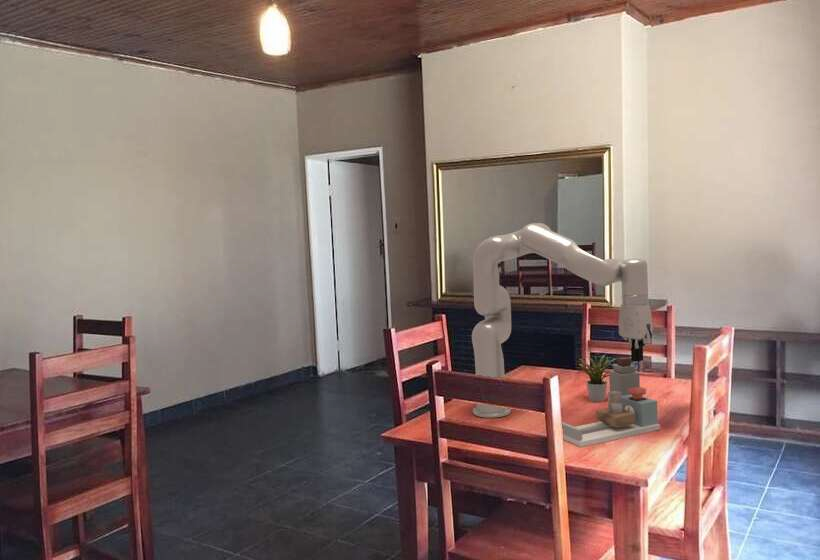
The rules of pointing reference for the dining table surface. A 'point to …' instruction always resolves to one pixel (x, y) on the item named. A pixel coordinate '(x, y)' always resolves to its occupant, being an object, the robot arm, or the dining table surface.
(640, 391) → the button
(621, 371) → the perfume bottle
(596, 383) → the house plant
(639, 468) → the dining table surface
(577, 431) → the rail bed
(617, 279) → the robot arm
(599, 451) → the dining table surface
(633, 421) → the carriage
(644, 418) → the end cabinet
